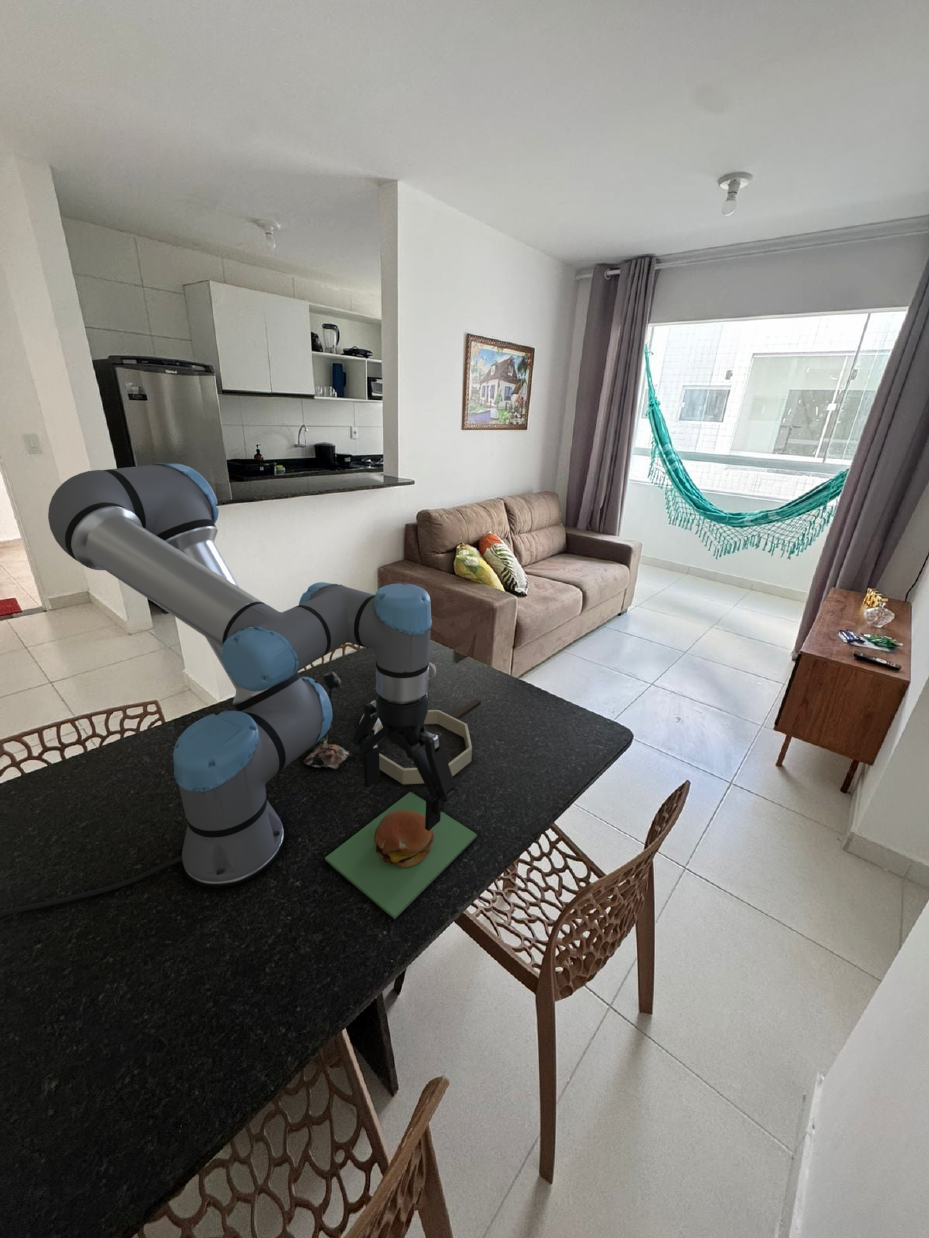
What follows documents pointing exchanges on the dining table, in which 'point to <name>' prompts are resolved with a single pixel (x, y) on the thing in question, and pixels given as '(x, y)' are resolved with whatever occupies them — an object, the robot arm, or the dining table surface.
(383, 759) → the pan
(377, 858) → the napkin mat
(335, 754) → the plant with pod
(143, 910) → the dining table surface
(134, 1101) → the dining table surface
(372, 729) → the white upturned bowl
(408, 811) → the burger
